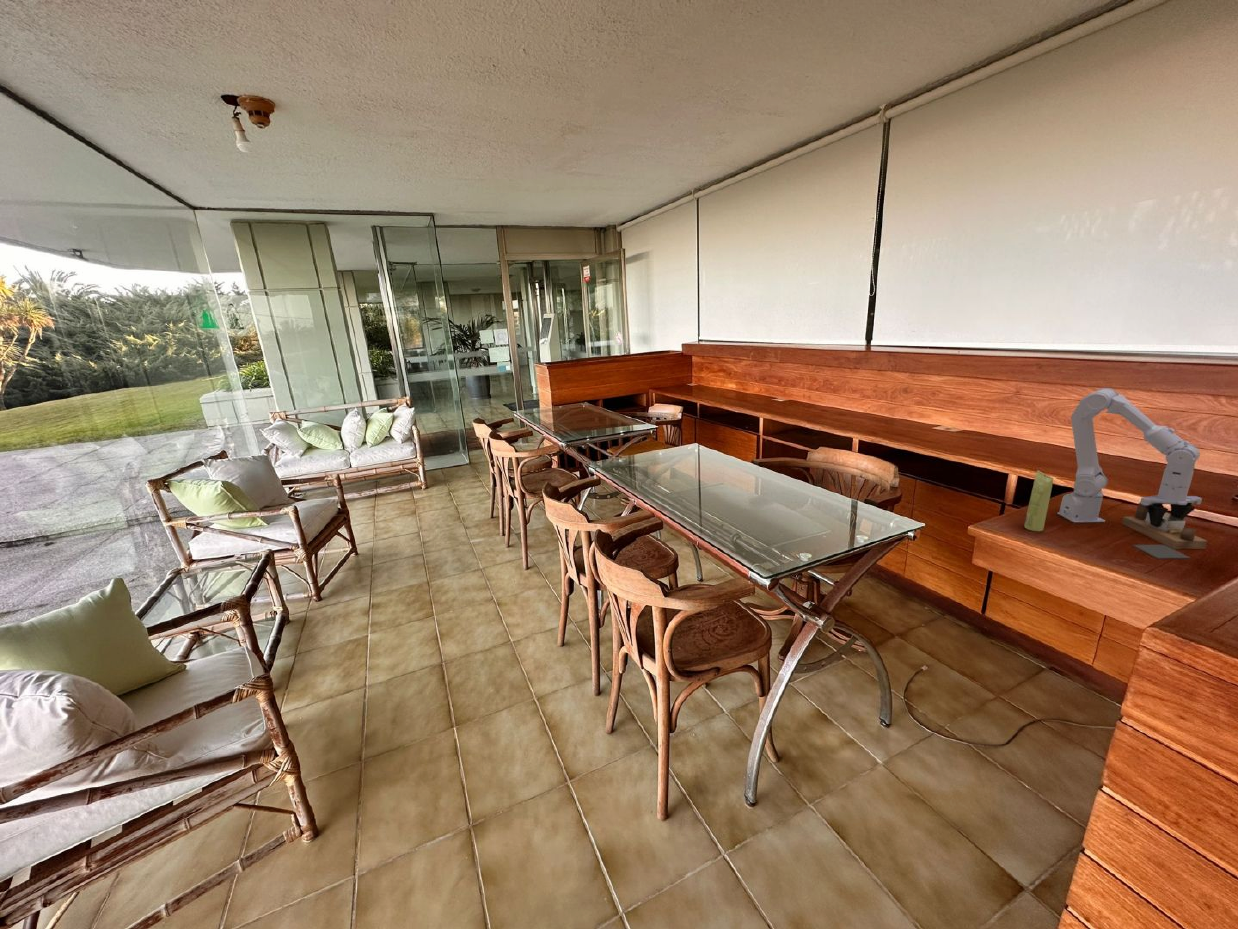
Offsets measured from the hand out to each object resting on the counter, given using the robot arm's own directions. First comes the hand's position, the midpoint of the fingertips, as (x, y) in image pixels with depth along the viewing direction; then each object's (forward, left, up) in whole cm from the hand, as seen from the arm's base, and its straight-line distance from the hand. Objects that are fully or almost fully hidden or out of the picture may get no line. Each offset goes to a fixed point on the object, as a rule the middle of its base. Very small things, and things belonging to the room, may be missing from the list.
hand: (1163, 525), depth 149 cm
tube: (-32, +6, -4) cm, 33 cm away
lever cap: (0, 0, -1) cm, 1 cm away
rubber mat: (-9, -11, -3) cm, 15 cm away
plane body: (0, 0, -3) cm, 3 cm away
